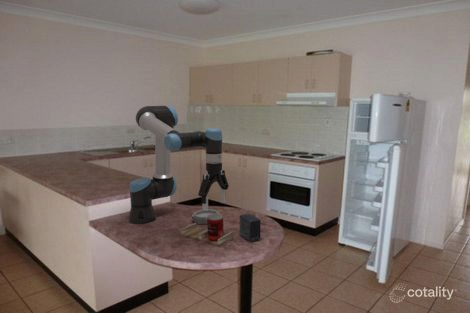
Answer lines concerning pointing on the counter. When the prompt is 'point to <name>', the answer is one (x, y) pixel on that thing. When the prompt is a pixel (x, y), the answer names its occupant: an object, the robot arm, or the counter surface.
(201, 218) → the dish
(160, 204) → the counter surface
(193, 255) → the counter surface
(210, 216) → the canned food
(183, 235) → the notched rail
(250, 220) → the small box
